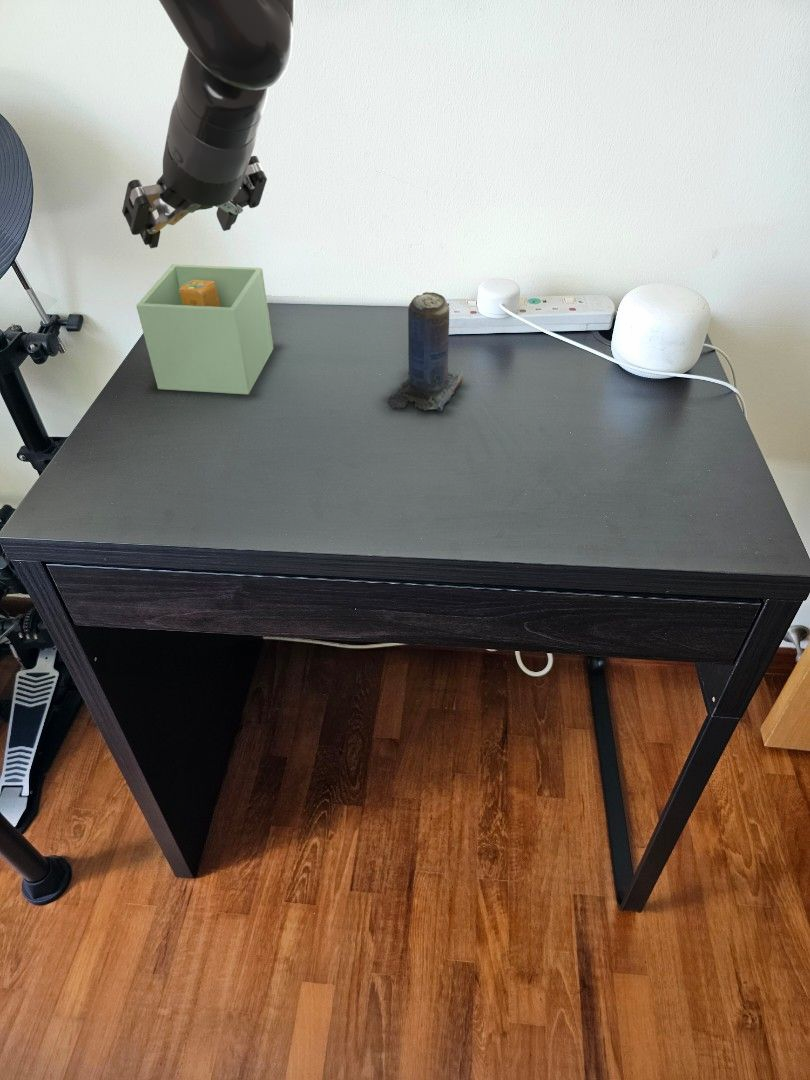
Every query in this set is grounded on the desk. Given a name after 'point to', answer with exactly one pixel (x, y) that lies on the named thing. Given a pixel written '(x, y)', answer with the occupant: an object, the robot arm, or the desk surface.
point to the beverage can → (427, 356)
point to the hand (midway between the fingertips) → (186, 231)
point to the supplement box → (199, 293)
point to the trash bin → (207, 330)
